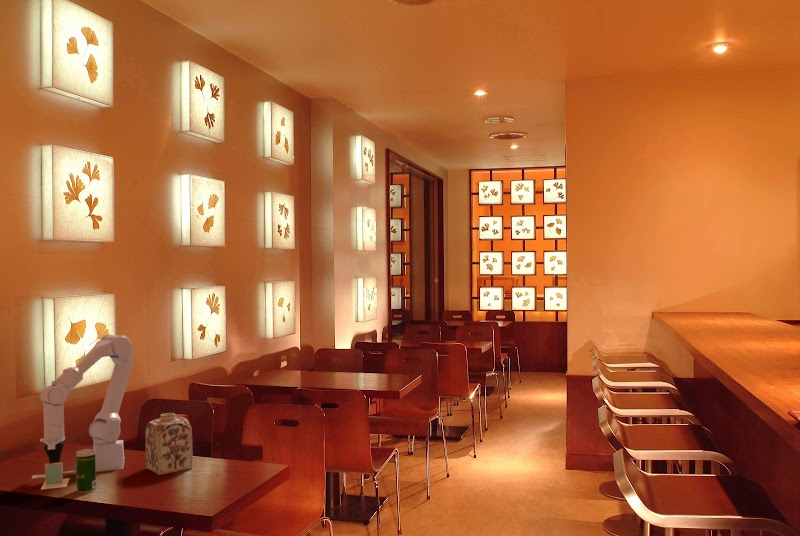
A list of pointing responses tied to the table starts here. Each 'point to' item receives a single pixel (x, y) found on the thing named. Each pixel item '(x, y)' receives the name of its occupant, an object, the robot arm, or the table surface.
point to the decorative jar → (169, 444)
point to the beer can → (86, 470)
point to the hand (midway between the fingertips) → (55, 467)
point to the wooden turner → (44, 475)
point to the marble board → (64, 484)
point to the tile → (53, 473)
